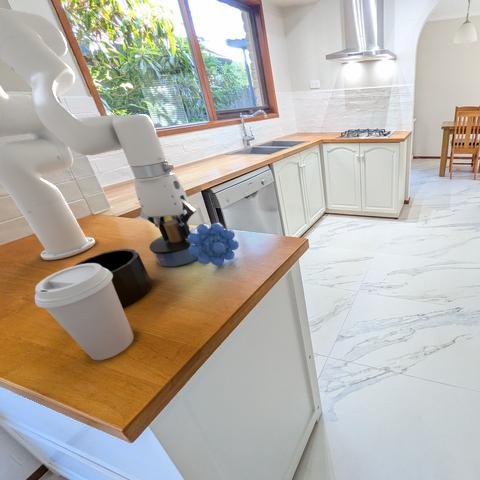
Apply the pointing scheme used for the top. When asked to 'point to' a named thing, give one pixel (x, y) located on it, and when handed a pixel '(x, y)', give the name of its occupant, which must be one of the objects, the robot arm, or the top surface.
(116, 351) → the coffee cup
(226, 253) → the blue flower toy
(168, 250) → the lid
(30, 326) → the top surface
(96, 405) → the top surface
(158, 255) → the blue round dish
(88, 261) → the pot
